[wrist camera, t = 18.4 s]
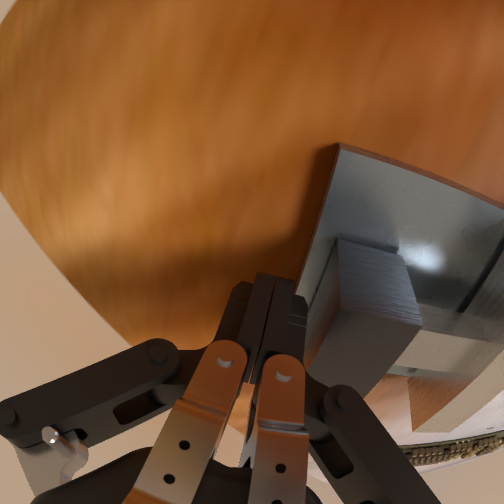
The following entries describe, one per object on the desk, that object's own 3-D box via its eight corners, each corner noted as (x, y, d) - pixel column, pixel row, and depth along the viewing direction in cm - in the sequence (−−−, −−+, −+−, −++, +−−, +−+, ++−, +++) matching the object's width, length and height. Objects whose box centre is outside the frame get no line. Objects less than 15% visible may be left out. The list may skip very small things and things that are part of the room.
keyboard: (354, 459, 31) (353, 472, 29) (372, 434, 26) (371, 451, 24) (493, 444, 26) (494, 455, 25) (527, 414, 21) (530, 427, 20)
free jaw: (364, 157, 10) (385, 206, 7) (552, 238, 9) (591, 290, 6) (288, 359, 17) (278, 419, 14) (442, 383, 16) (450, 434, 13)
